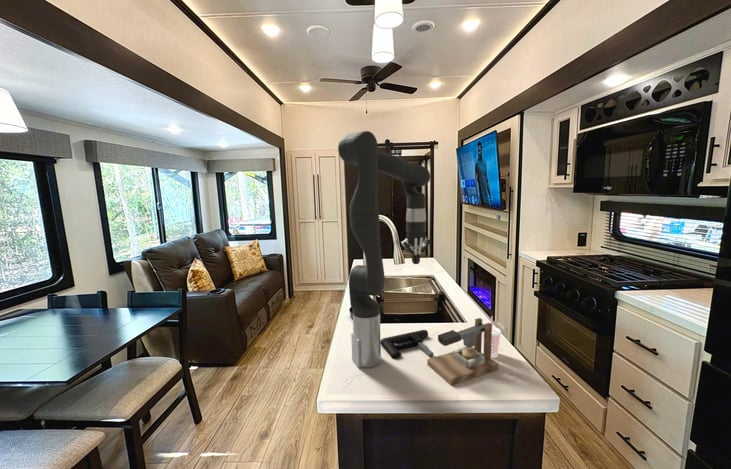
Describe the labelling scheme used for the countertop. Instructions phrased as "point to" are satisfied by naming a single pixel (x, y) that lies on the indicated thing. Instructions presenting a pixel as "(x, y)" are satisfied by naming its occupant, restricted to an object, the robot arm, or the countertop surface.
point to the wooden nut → (468, 353)
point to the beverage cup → (494, 340)
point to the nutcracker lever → (461, 336)
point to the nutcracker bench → (462, 369)
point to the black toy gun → (413, 337)
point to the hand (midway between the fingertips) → (415, 263)
